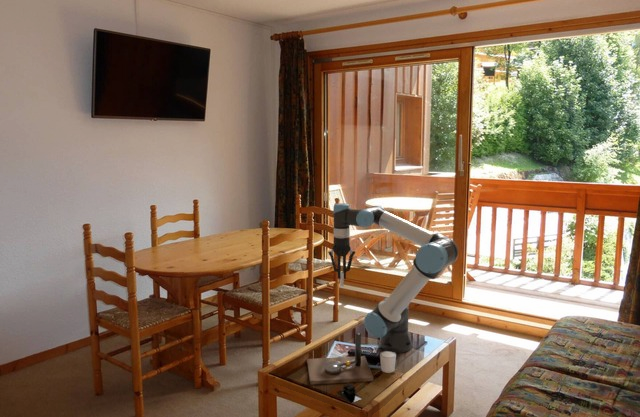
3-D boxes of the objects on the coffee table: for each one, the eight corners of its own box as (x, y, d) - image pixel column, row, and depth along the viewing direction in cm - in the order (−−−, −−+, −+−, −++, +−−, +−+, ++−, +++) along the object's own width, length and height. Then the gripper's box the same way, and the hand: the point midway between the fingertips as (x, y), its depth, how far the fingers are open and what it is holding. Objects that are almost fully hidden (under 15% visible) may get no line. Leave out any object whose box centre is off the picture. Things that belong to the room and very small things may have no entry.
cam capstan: (328, 375, 200) (328, 343, 198) (321, 368, 206) (321, 337, 204) (364, 367, 206) (364, 336, 204) (356, 360, 213) (356, 330, 211)
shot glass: (376, 367, 211) (377, 352, 210) (390, 364, 213) (390, 349, 212) (385, 374, 204) (385, 359, 203) (399, 371, 207) (399, 356, 206)
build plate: (332, 392, 192) (332, 381, 191) (347, 387, 196) (347, 376, 195) (351, 406, 181) (351, 395, 181) (366, 401, 185) (366, 389, 184)
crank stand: (364, 359, 219) (364, 355, 219) (373, 380, 199) (373, 376, 199) (307, 362, 217) (307, 358, 216) (310, 384, 197) (310, 380, 197)
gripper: (354, 234, 232) (354, 282, 235) (326, 235, 231) (327, 283, 234) (356, 237, 224) (356, 287, 228) (328, 238, 223) (328, 288, 227)
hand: (341, 285), depth 231 cm, fingers closed
